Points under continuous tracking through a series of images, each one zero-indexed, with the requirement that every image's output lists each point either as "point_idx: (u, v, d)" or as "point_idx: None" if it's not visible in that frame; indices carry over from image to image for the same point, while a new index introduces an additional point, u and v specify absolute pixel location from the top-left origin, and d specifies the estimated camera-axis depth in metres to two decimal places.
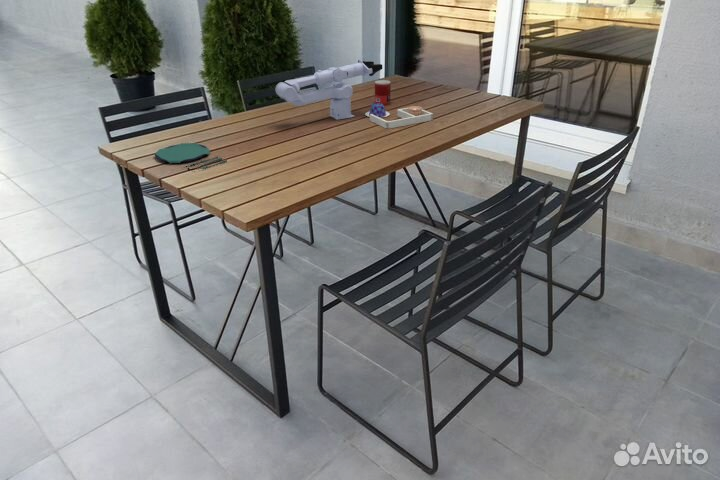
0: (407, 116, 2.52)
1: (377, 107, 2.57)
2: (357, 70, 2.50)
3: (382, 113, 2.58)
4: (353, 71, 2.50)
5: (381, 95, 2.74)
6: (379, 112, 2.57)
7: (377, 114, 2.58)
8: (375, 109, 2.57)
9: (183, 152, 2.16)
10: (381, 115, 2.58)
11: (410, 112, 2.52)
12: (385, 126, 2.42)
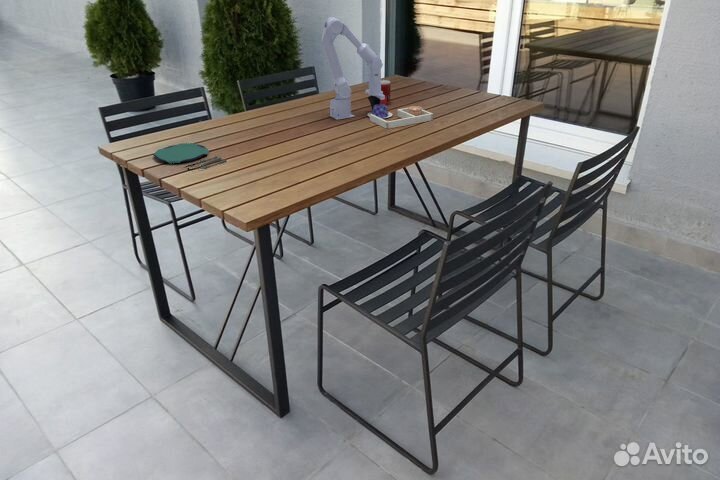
0: (407, 116, 2.52)
1: (379, 108, 2.55)
2: (378, 86, 2.55)
3: (384, 114, 2.56)
4: (377, 81, 2.53)
5: None
6: (381, 113, 2.55)
7: (379, 115, 2.56)
8: (377, 110, 2.55)
9: (182, 152, 2.16)
10: (383, 116, 2.56)
11: (410, 112, 2.52)
12: (385, 126, 2.42)
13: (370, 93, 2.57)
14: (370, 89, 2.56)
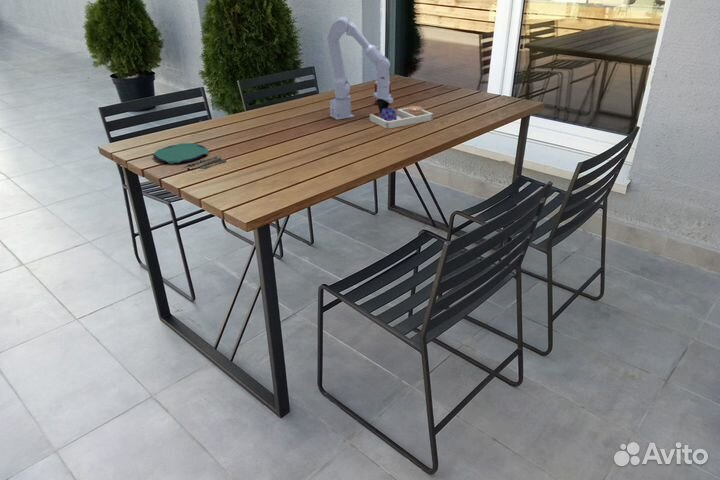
0: (407, 116, 2.52)
1: (388, 111, 2.49)
2: (387, 89, 2.49)
3: (393, 118, 2.51)
4: (383, 85, 2.47)
5: None
6: (390, 117, 2.50)
7: (388, 119, 2.50)
8: (386, 113, 2.49)
9: (182, 152, 2.16)
10: (392, 120, 2.51)
11: (410, 112, 2.52)
12: (385, 126, 2.42)
13: (378, 96, 2.51)
14: (378, 92, 2.50)
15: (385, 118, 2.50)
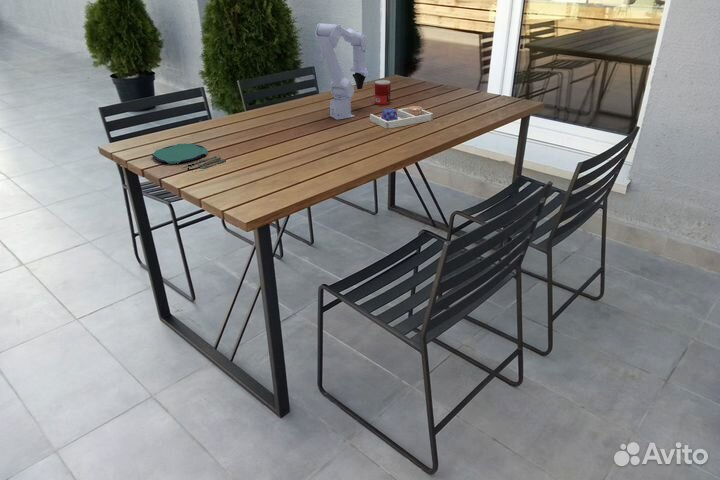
0: (407, 116, 2.52)
1: (390, 112, 2.49)
2: (362, 63, 2.58)
3: (395, 118, 2.50)
4: (364, 58, 2.58)
5: (381, 95, 2.74)
6: (392, 117, 2.49)
7: (390, 119, 2.49)
8: (387, 114, 2.49)
9: (181, 152, 2.16)
10: None
11: (410, 112, 2.52)
12: (385, 126, 2.42)
13: (354, 70, 2.60)
14: (354, 66, 2.59)
15: (386, 119, 2.49)
